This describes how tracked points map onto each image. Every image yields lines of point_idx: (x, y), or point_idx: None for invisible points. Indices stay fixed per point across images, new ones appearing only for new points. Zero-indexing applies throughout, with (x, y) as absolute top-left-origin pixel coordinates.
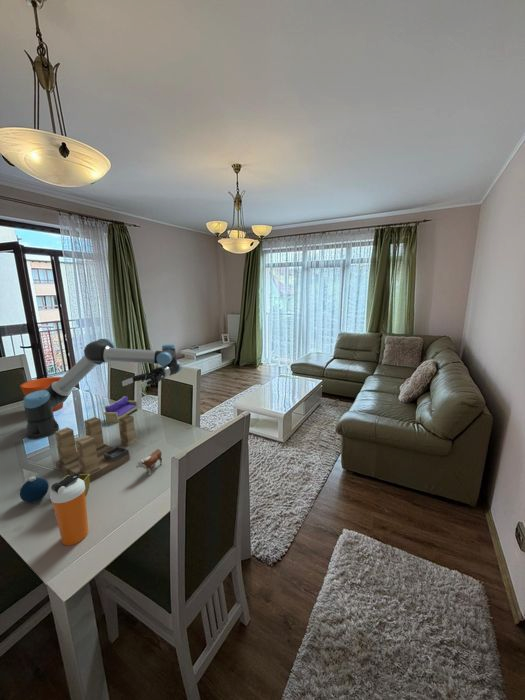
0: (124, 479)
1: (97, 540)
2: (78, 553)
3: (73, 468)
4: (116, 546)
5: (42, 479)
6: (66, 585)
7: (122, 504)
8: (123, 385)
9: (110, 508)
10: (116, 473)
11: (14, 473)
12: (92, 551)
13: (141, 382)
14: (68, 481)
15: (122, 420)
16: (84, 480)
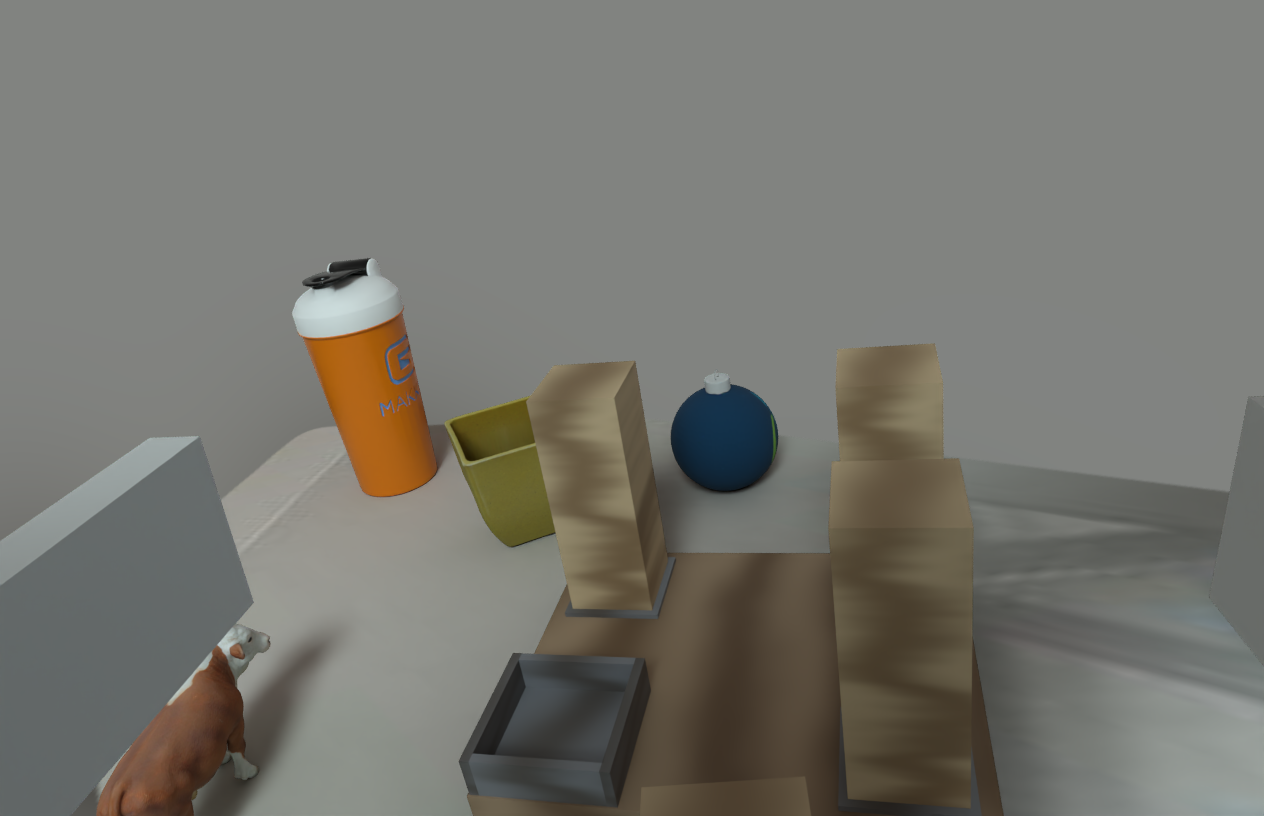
0: (384, 679)
1: (312, 492)
2: (347, 463)
3: (746, 564)
4: (235, 502)
5: (701, 416)
6: (321, 434)
7: (298, 584)
8: (1222, 572)
9: (344, 558)
10: (478, 696)
11: (1128, 500)
12: (306, 476)
13: (161, 448)
14: (326, 272)
15: (715, 792)
16: (455, 446)
